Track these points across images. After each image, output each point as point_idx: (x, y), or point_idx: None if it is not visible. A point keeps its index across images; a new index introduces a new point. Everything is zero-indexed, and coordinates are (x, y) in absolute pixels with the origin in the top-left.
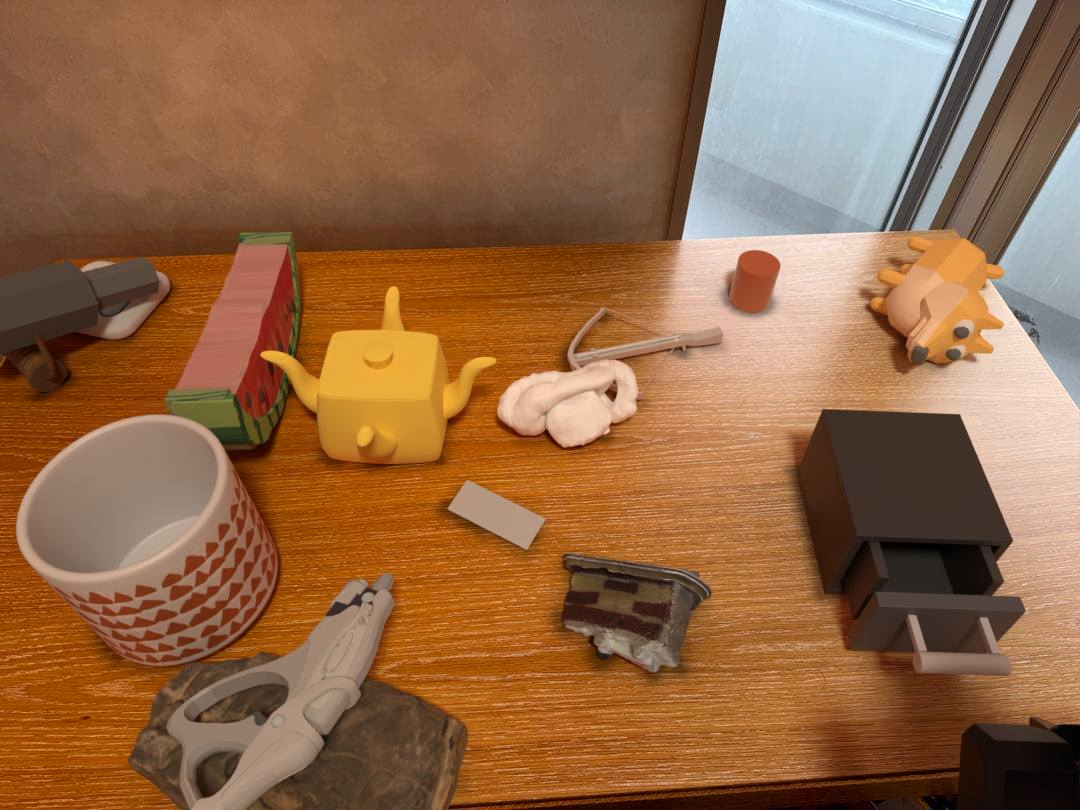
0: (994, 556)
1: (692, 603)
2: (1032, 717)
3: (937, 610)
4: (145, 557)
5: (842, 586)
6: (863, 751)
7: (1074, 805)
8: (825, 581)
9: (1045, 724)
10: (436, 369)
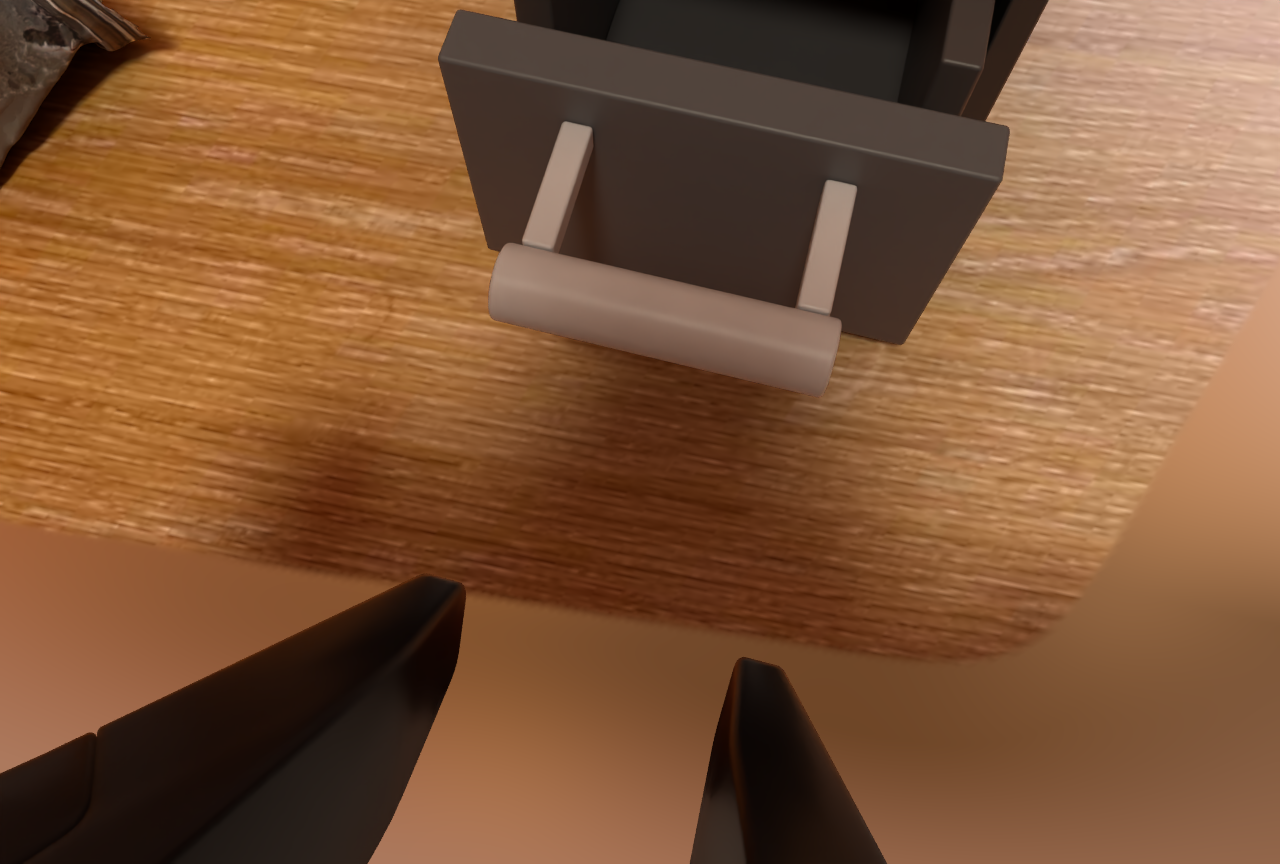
0: (1019, 3)
1: (37, 17)
2: (413, 580)
3: (659, 117)
4: None
5: None
6: (381, 532)
7: None
8: None
9: (286, 657)
10: None
